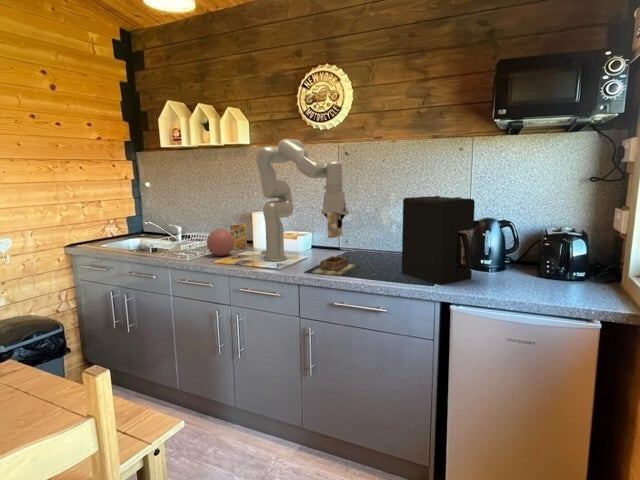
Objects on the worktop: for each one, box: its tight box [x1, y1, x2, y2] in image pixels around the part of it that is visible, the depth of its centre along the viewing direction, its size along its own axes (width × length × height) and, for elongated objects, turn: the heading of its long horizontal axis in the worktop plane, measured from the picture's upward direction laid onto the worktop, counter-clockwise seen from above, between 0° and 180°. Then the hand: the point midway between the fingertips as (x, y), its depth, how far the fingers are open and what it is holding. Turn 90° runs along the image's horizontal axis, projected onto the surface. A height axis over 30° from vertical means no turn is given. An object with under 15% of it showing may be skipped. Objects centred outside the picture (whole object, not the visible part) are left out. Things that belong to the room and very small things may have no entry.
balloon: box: [206, 228, 235, 257], centre depth 238 cm, size 15×20×15 cm
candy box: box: [230, 223, 248, 251], centre depth 257 cm, size 9×4×15 cm, turn 126°
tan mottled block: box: [326, 212, 343, 239], centre depth 196 cm, size 4×8×12 cm, turn 154°
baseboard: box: [166, 240, 195, 254], centre depth 263 cm, size 31×3×12 cm
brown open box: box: [312, 255, 357, 277], centre depth 199 cm, size 14×20×5 cm
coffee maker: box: [401, 195, 476, 286], centre depth 181 cm, size 28×20×35 cm
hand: (335, 227), depth 196 cm, fingers closed on tan mottled block, 4 cm apart
